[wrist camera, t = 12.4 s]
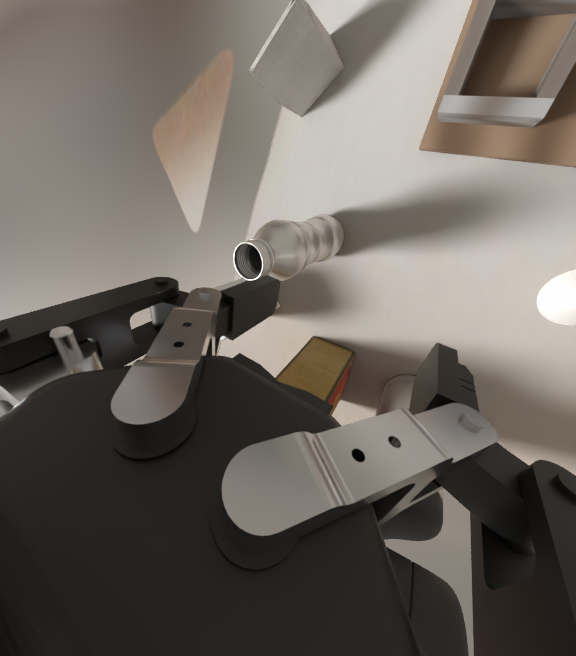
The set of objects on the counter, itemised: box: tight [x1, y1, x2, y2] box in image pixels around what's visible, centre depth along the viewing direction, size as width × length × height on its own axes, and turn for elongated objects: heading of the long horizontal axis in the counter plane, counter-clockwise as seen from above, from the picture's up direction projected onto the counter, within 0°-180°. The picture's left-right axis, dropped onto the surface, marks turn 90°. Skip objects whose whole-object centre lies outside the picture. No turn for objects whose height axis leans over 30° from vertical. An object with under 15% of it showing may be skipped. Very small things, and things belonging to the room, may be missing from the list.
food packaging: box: [275, 336, 355, 416], centre depth 39 cm, size 13×9×25 cm
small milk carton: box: [248, 0, 344, 117], centre depth 26 cm, size 4×7×10 cm, turn 125°
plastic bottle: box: [233, 215, 344, 281], centre depth 30 cm, size 6×7×20 cm
